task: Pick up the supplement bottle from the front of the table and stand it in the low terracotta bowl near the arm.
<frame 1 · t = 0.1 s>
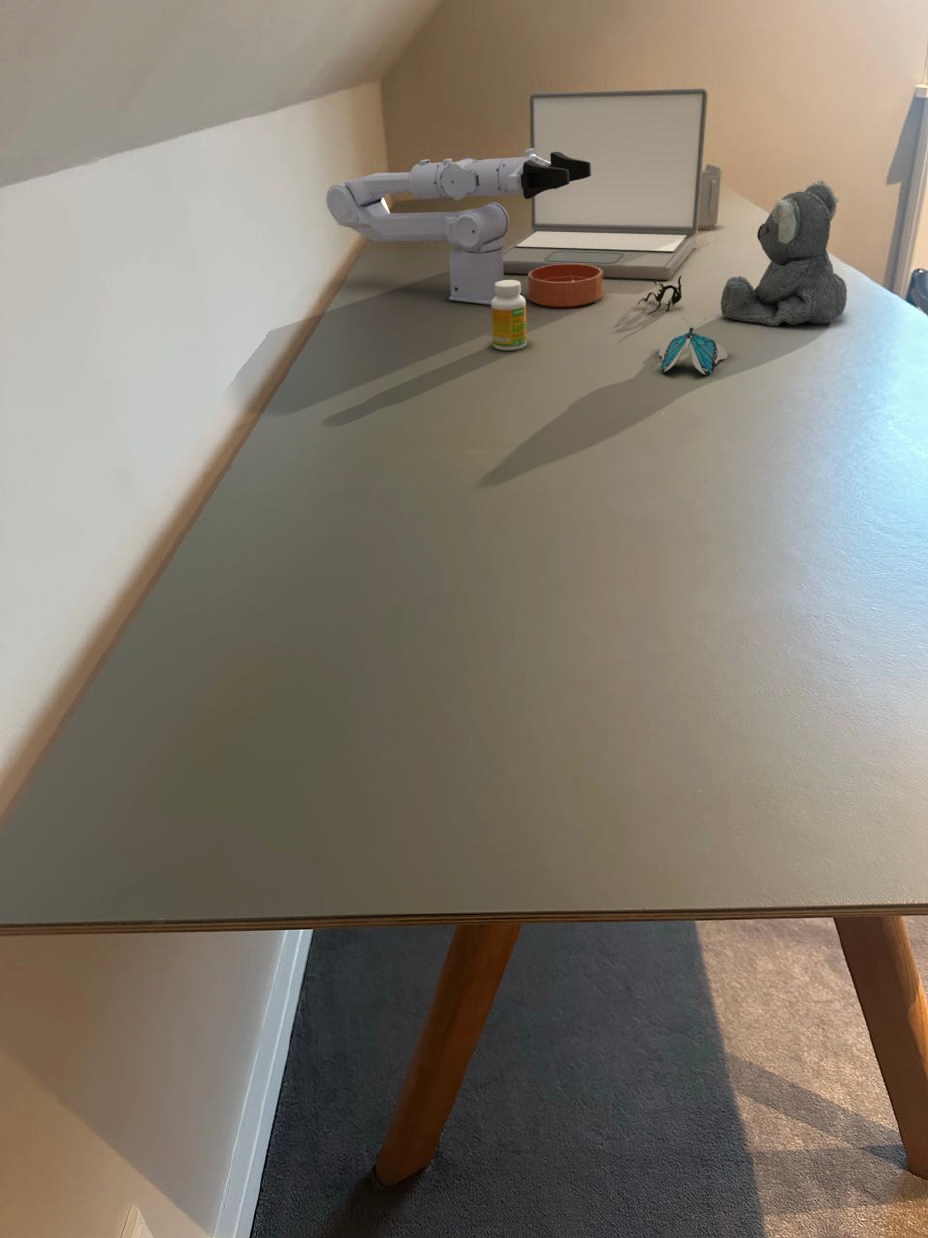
hand: (579, 173, 152), 22 cm above the table, tool horizontal, fingers open, 7 cm apart
decorative butterfly: (688, 367, 137), on the table
cable organizer: (697, 225, 212), on the table
supplement bottle: (509, 346, 149), on the table
creature: (658, 309, 161), on the table
laptop: (595, 260, 192), on the table
koala plush: (788, 316, 154), on the table
bowl: (565, 298, 170), on the table
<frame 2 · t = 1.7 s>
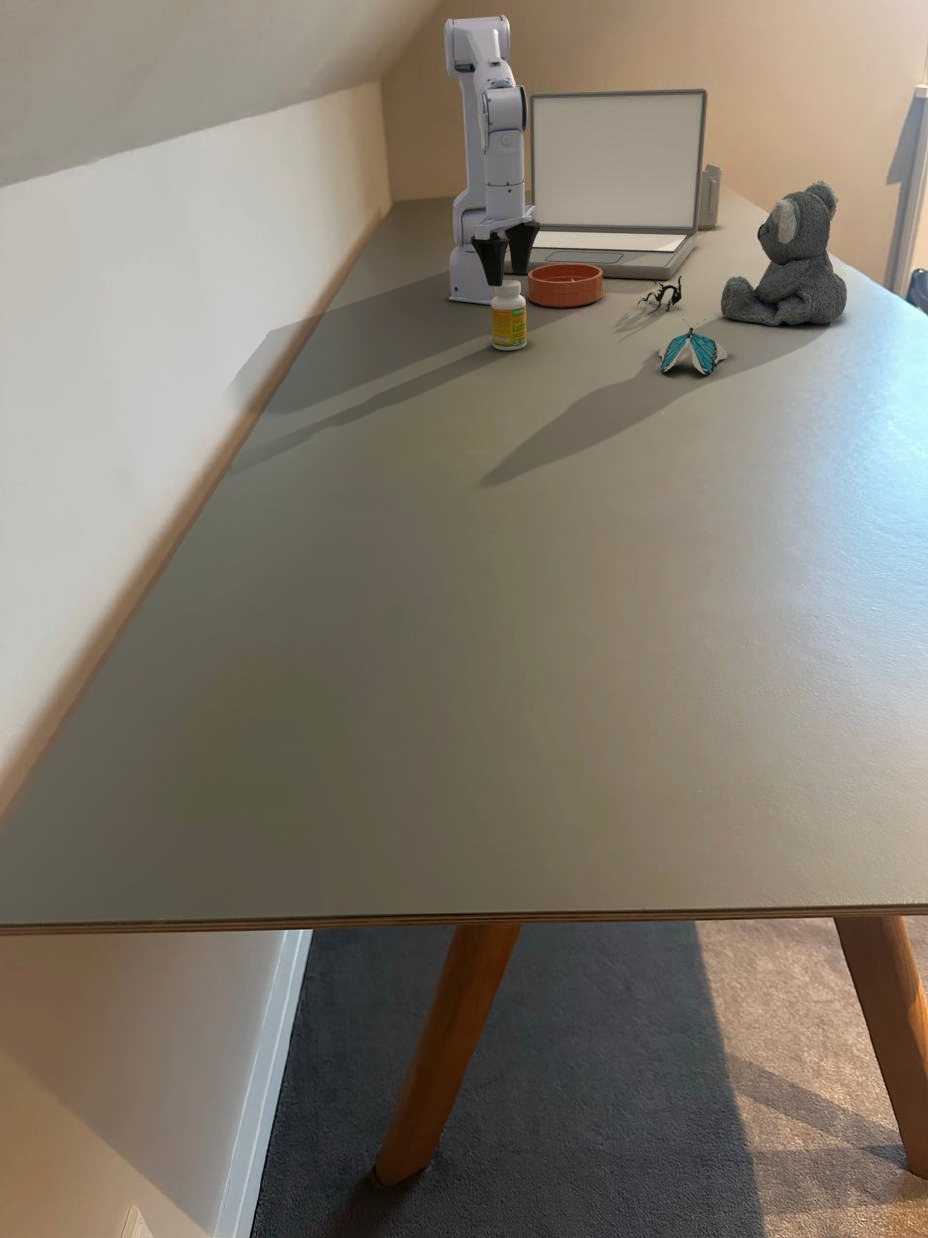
hand: (507, 279, 144), 10 cm above the table, tool pointing down, fingers open, 7 cm apart
nothing on the table moved.
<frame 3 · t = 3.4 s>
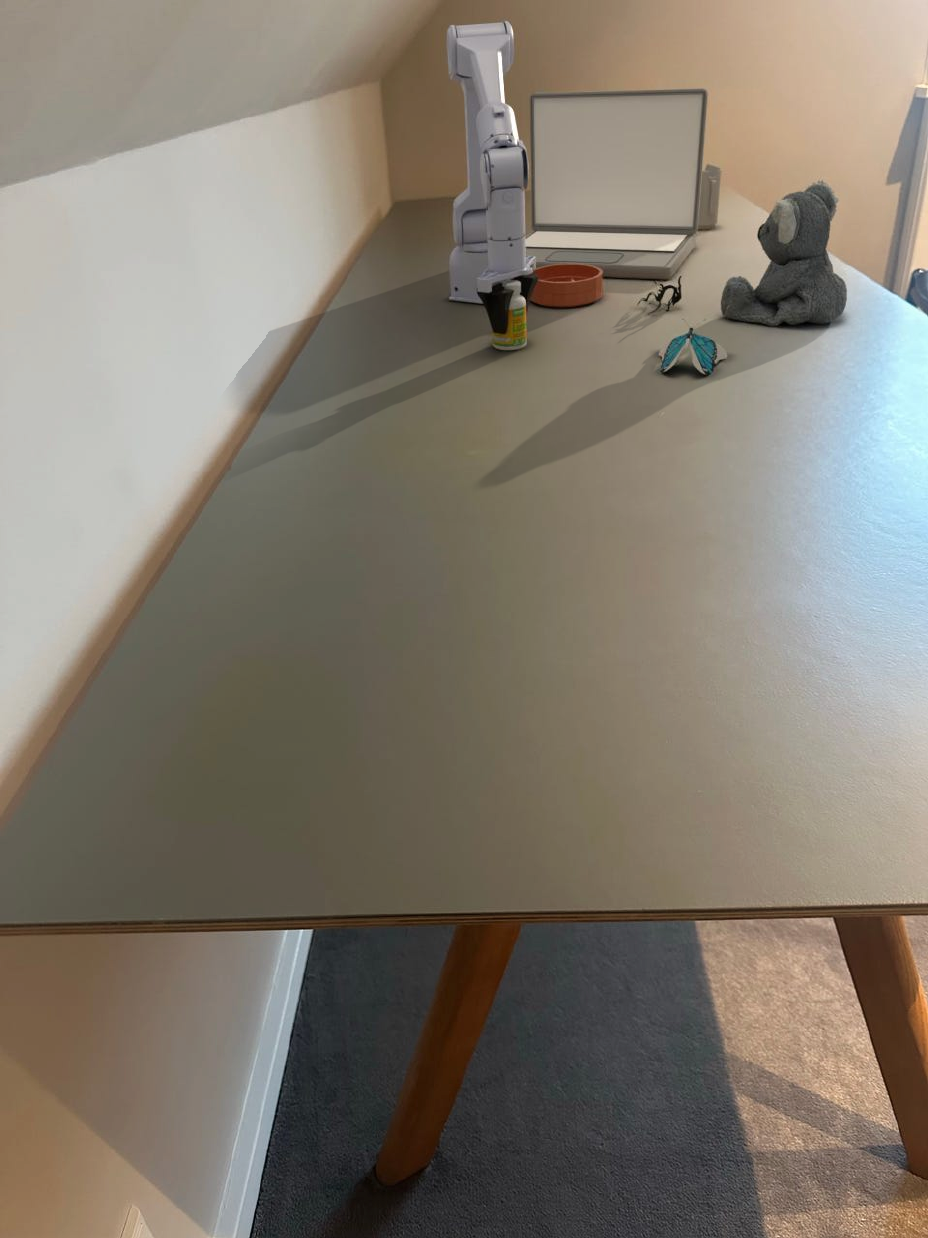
hand: (509, 327, 148), 3 cm above the table, tool pointing down, fingers closed on supplement bottle, 5 cm apart
supplement bottle: (509, 346, 149), on the table, touching gripper
everything else where it was.
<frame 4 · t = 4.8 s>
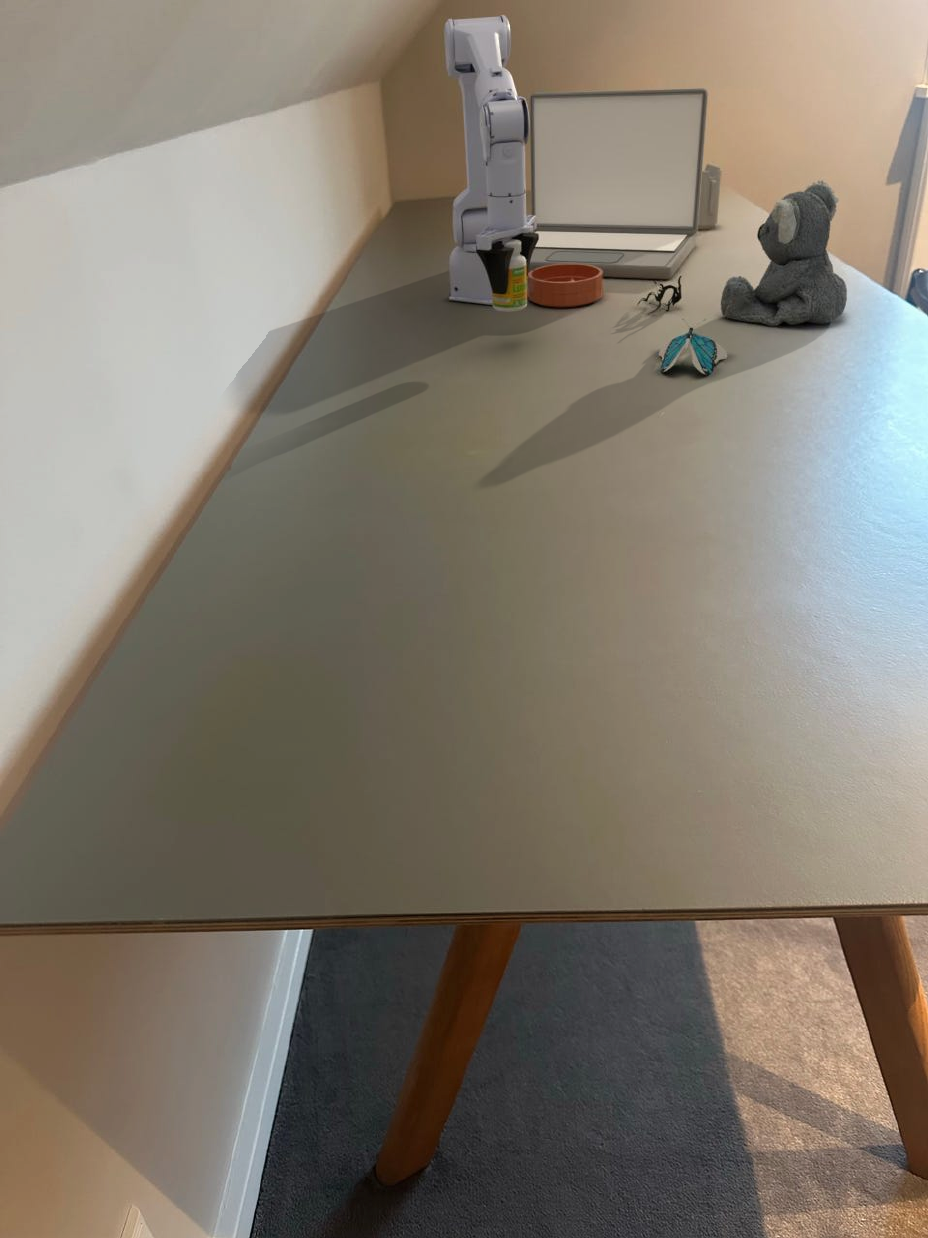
hand: (509, 288, 145), 9 cm above the table, tool pointing down, fingers closed on supplement bottle, 5 cm apart
supplement bottle: (509, 308, 147), point 6 cm above the table, touching gripper
everything else where it was.
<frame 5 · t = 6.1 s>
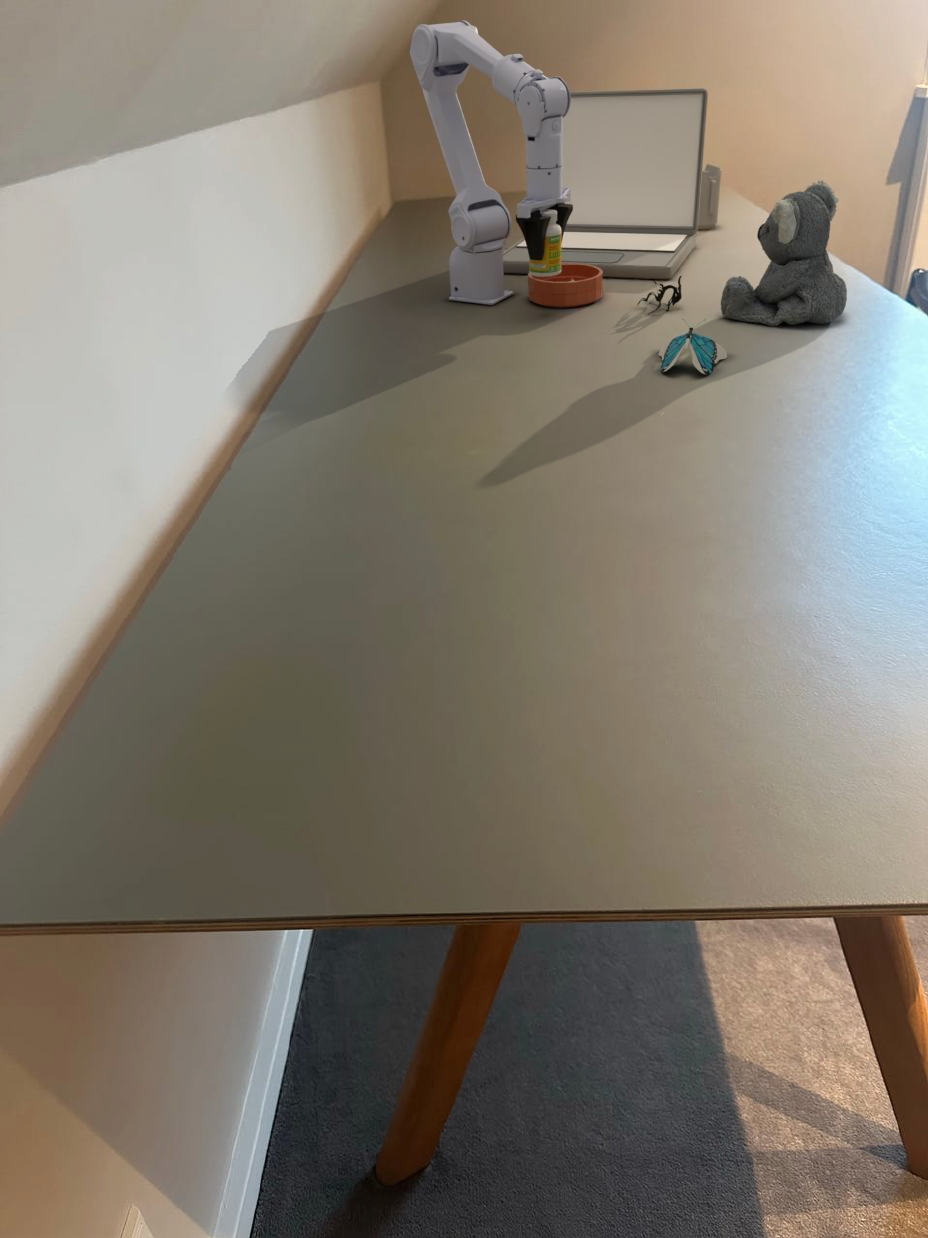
hand: (544, 255, 157), 10 cm above the table, tool pointing down, fingers closed on supplement bottle, 5 cm apart
supplement bottle: (545, 274, 158), point 7 cm above the table, touching gripper
everything else where it was.
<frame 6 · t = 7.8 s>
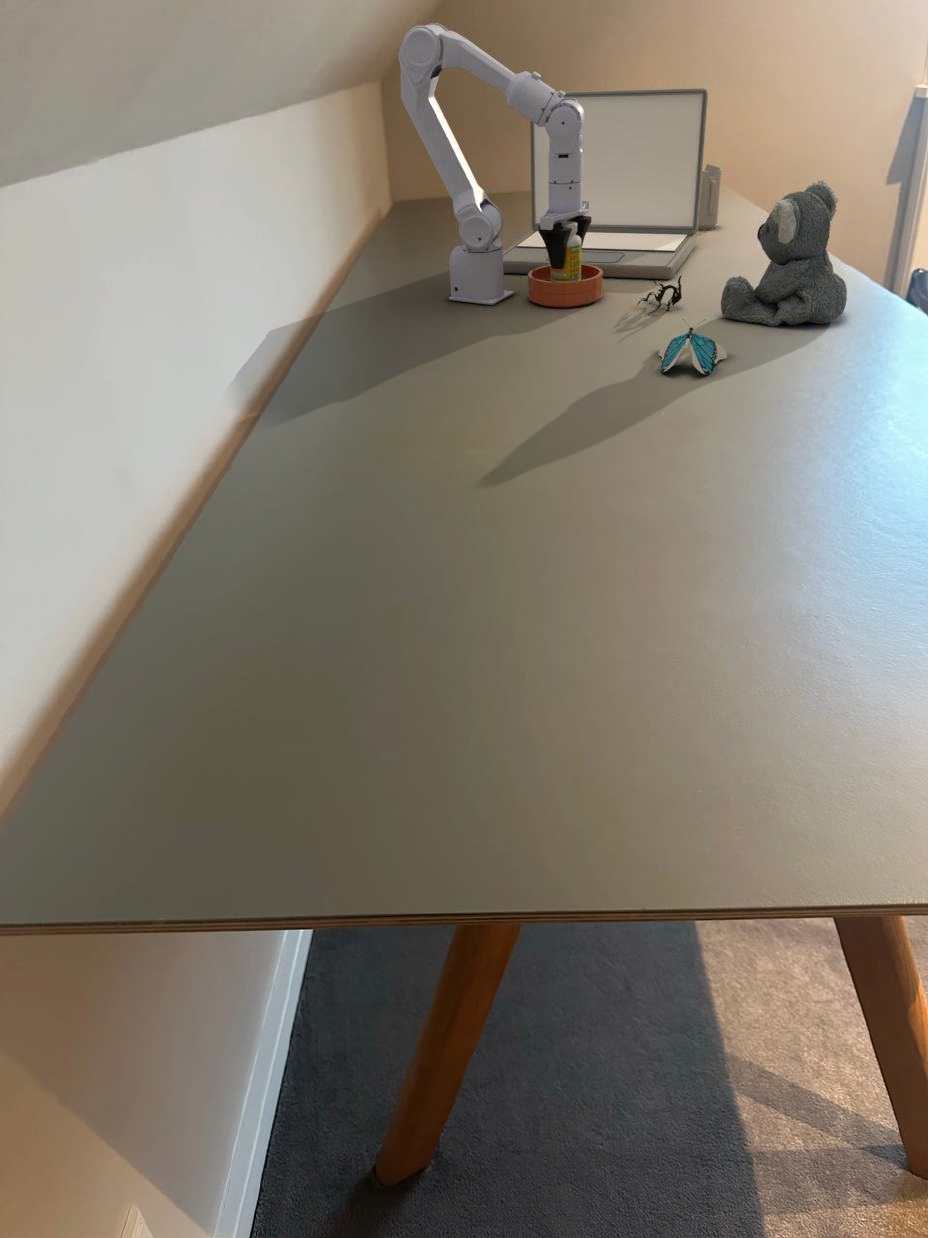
hand: (565, 264, 166), 6 cm above the table, tool pointing down, fingers closed on supplement bottle, 5 cm apart
supplement bottle: (565, 282, 168), point 3 cm above the table, touching gripper
everything else where it was.
when the fingers open (3 cm above the table, at t = 9.2 s): supplement bottle stays where it is, resting on bowl.
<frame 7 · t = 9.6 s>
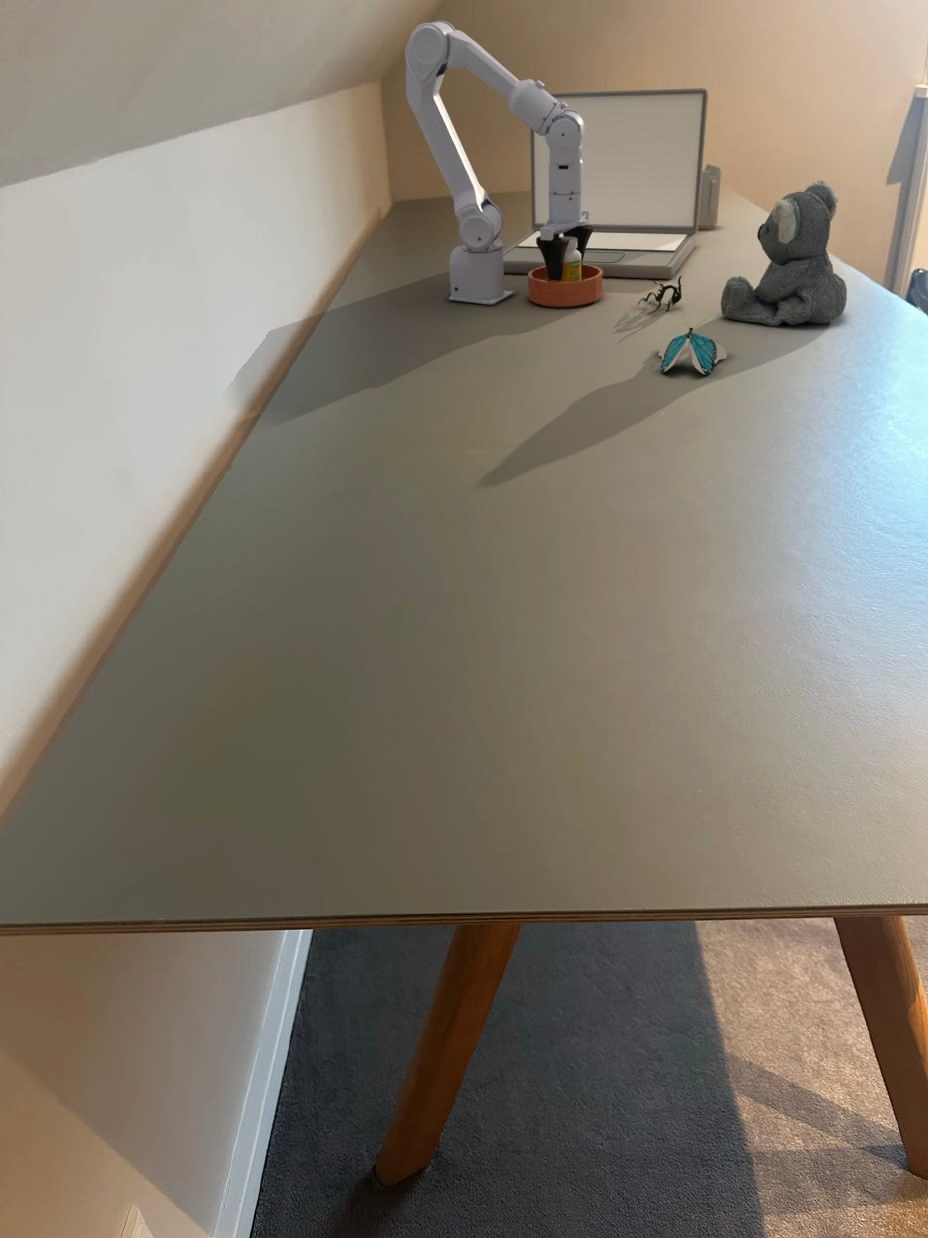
hand: (565, 274, 167), 4 cm above the table, tool pointing down, fingers open, 7 cm apart
supplement bottle: (565, 296, 169), resting on bowl
everything else where it was.
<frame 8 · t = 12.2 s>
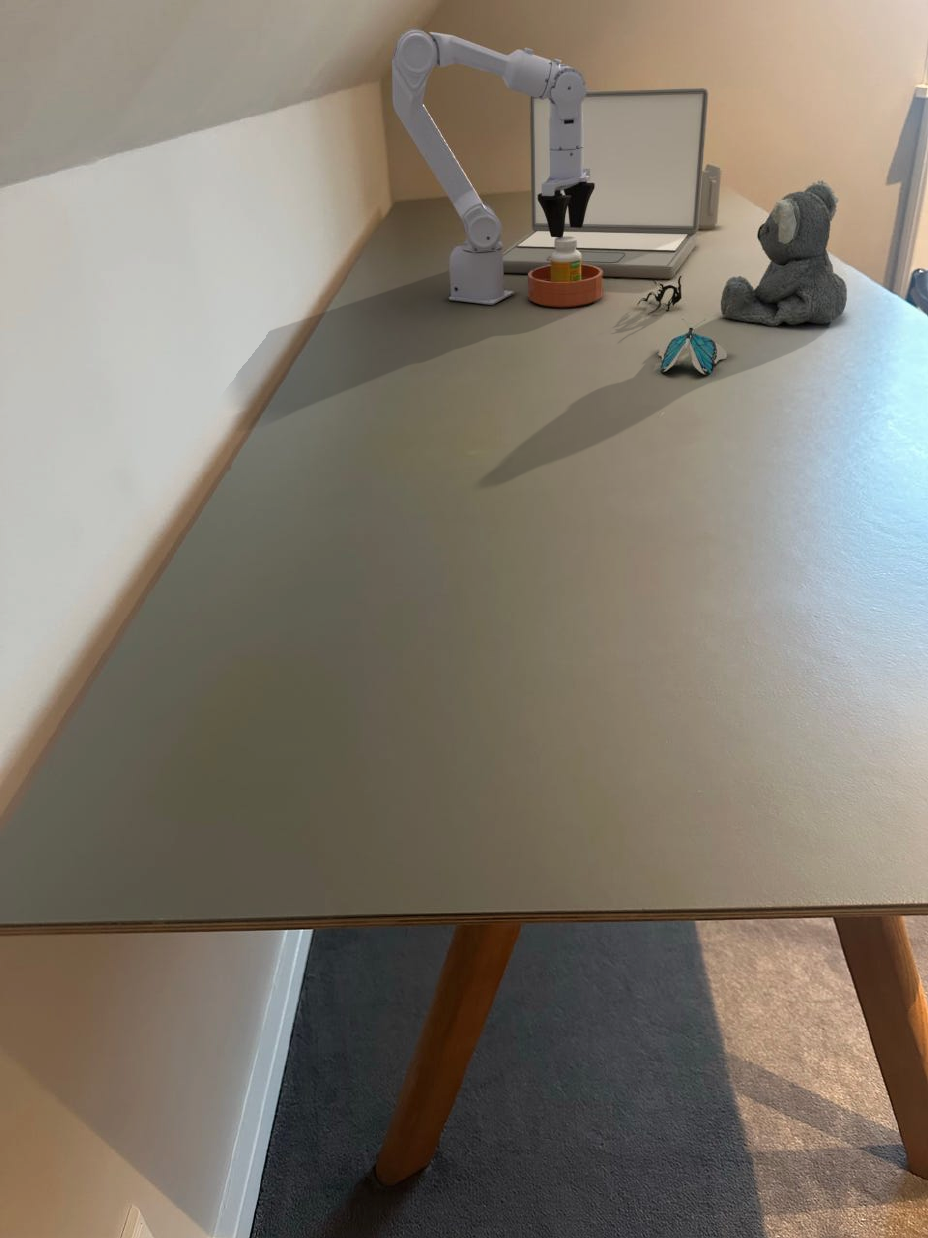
hand: (566, 231, 168), 10 cm above the table, tool pointing down, fingers open, 7 cm apart
nothing on the table moved.
at the end: supplement bottle inside the target area in the bowl (0.1 cm from its centre), point 0.3 cm above the bowl's base; supplement bottle tilted 0°; the gripper is holding nothing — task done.
